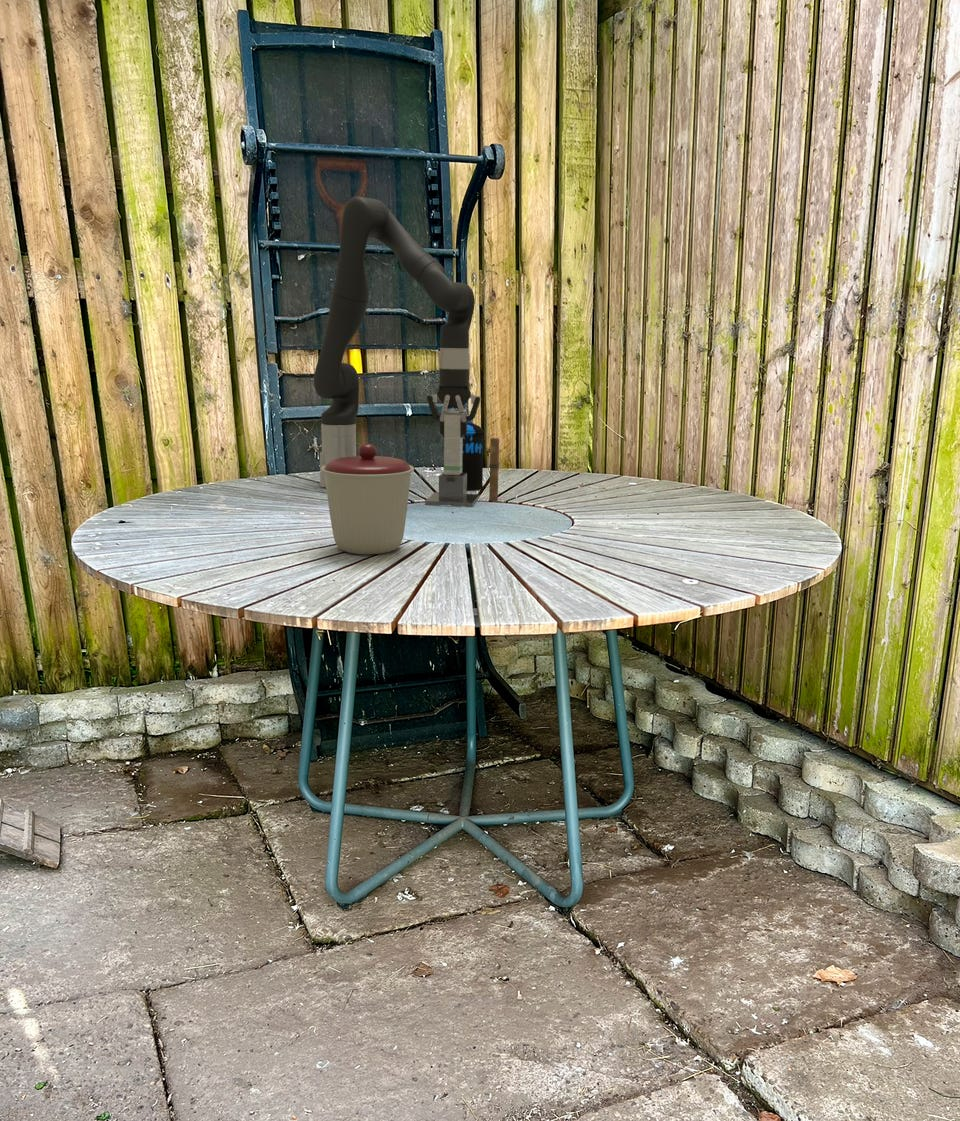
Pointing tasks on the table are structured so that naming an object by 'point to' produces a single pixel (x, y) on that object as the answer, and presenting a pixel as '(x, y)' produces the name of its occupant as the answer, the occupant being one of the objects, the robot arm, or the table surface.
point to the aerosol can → (473, 456)
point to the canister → (367, 501)
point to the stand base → (453, 492)
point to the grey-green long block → (452, 443)
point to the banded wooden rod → (494, 469)
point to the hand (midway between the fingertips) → (453, 436)
